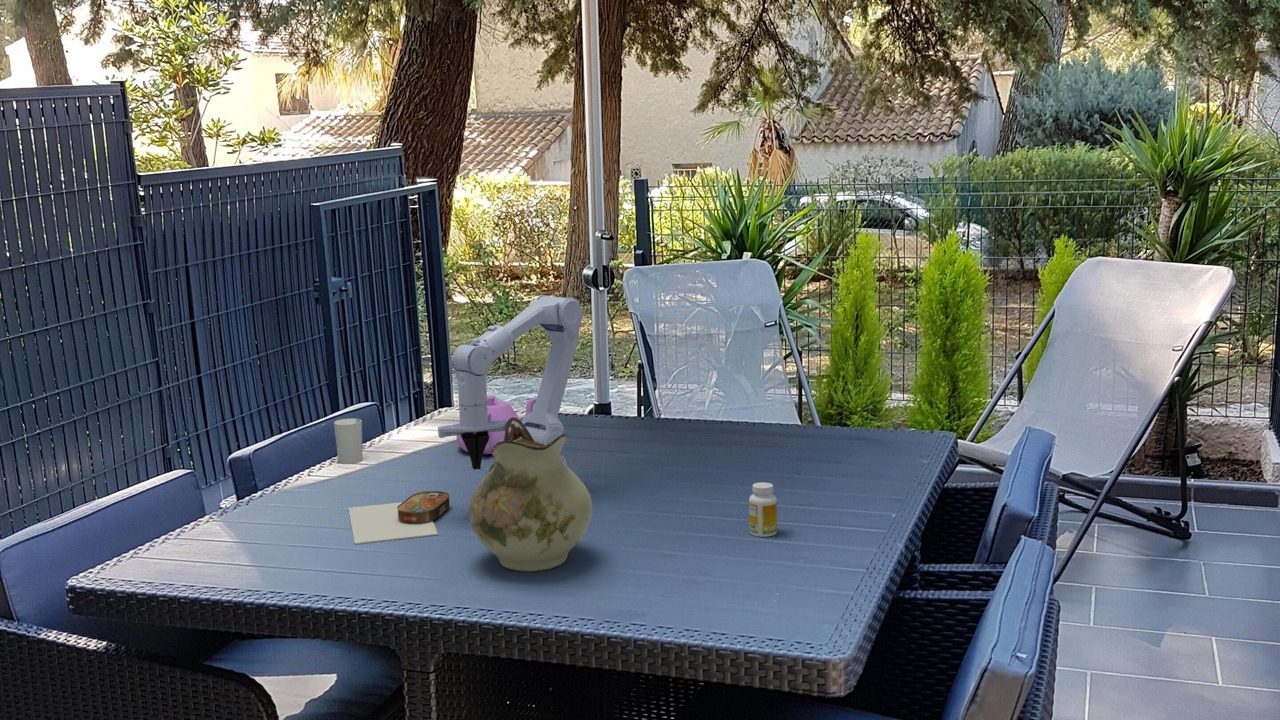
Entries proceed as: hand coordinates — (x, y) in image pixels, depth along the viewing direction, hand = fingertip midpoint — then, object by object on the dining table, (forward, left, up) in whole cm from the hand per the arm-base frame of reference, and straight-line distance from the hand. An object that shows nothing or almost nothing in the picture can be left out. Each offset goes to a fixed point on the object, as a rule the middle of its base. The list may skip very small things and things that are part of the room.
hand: (476, 468), depth 239 cm
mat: (+18, -3, -10) cm, 21 cm away
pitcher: (-5, +29, -11) cm, 31 cm away
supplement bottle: (-51, +30, -11) cm, 60 cm away
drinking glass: (+23, -56, -11) cm, 61 cm away
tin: (+7, -3, -9) cm, 12 cm away
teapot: (-14, -54, -11) cm, 57 cm away
